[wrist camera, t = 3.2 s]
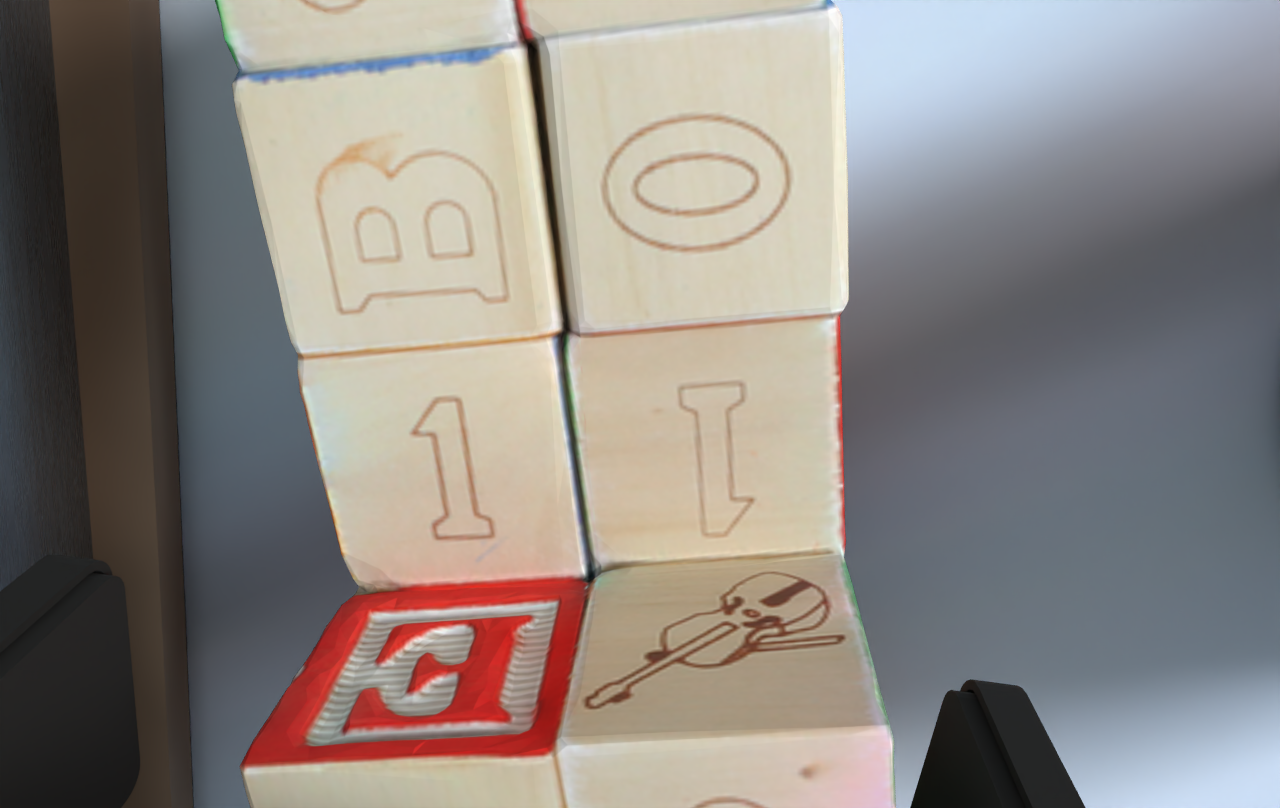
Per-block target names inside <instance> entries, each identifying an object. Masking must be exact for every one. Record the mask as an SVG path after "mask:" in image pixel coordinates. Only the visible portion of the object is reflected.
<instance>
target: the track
mask: <svg viewBox="0 0 1280 808" xmlns="http://www.w3.org/2000/svg"><path fill="white" fill-rule="evenodd" d="M53 554H57V555H64V556H71V557H79V558H86V559H93V560H101V561H103V562H105V563H107V564H108V565H109V567H110V568H111V571H112V575H113V576H118V577H120V578H121V579H122V581H123V582H124V586H125V593H126V605H127V616H128V627H129V639H130V650H131V661H132V672H133V684H134V695H135V706H136V718H137V729H138V740H139V751H140V770H139V775H138V779H137V782H136V785H135V787H134V789H133V791H132V793H131V795H130V796H129V798H128V799H127V801H126V802H125V803H124V805H123V806H122V807H121V808H193V788H192V764H191V741H190V718H189V694H188V671H187V647H186V624H185V600H184V577H183V553H182V530H181V506H180V483H179V460H178V436H177V413H176V389H175V366H174V342H173V319H172V295H171V272H170V248H169V225H168V202H167V178H166V155H165V131H164V108H163V84H162V61H161V37H160V14H159V0H0V591H1V590H2V589H4V588H5V587H6V586H7V585H9V584H10V583H11V582H12V581H14V580H15V579H16V578H17V577H19V576H20V575H21V574H22V573H24V572H25V571H26V570H27V569H29V568H30V567H31V566H32V565H34V564H35V563H36V562H37V561H39V560H40V559H42V558H43V557H45V556H47V555H53Z"/></svg>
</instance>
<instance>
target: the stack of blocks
mask: <svg viewBox="0 0 1280 808" xmlns="http://www.w3.org/2000/svg"><path fill="white" fill-rule="evenodd" d="M215 2H216V5H217V9H218V12H219V15H220V18H221V23H222V28H223V33H224V38H225V41H226V43H227V45H228V47H229V50H230V52H231V54H232V56H233V58H234V60H235V63H236V65H237V67H238V69H239V72H238V74H237V76H236V78H235V80H234V82H233V84H232V89H233V96H234V102H235V109H236V114H237V118H238V122H239V126H240V129H241V133H242V137H243V141H244V145H245V149H246V153H247V158H248V162H249V167H250V171H251V176H252V180H253V185H254V189H255V194H256V198H257V203H258V207H259V211H260V215H261V219H262V223H263V227H264V231H265V235H266V239H267V243H268V247H269V251H270V255H271V259H272V264H273V268H274V272H275V276H276V280H277V284H278V288H279V292H280V297H281V302H282V307H283V312H284V317H285V322H286V325H287V329H288V333H289V337H290V340H291V343H292V345H293V347H294V349H295V350H296V352H297V354H298V379H299V386H300V394H301V397H302V400H303V403H304V407H305V411H306V416H307V421H308V425H309V429H310V433H311V438H312V442H313V446H314V450H315V454H316V458H317V462H318V466H319V470H320V473H321V477H322V480H323V484H324V488H325V491H326V495H327V499H328V503H329V507H330V511H331V515H332V519H333V523H334V527H335V531H336V535H337V539H338V543H339V547H340V551H341V555H342V557H343V559H344V561H345V563H346V565H347V567H348V569H349V571H350V573H351V575H352V577H353V579H354V581H355V582H356V583H357V584H358V586H359V588H358V590H357V592H356V594H355V595H354V596H353V597H352V598H350V599H349V600H348V601H346V602H345V603H344V604H343V605H341V607H340V608H339V610H338V611H337V613H336V614H335V616H334V617H333V619H332V620H331V621H330V622H329V624H328V625H327V626H326V628H325V630H324V632H323V634H322V636H321V638H320V640H319V641H318V643H317V645H316V646H315V648H314V649H313V651H312V653H311V654H310V656H309V657H308V659H307V660H306V662H305V663H304V665H303V666H302V667H301V669H300V670H299V671H298V673H297V674H296V675H295V676H294V678H293V681H292V683H291V685H290V686H289V687H288V688H287V690H286V691H285V693H284V694H283V696H282V697H281V699H280V700H279V702H278V704H277V705H276V707H275V708H274V710H273V712H272V713H271V715H270V716H269V718H268V719H267V721H266V722H265V724H264V725H263V727H262V728H261V730H260V731H259V733H258V734H257V736H256V737H255V739H254V740H253V742H252V744H251V746H250V748H249V749H248V751H247V753H246V755H245V757H244V759H243V761H242V763H241V764H240V766H239V767H240V770H241V774H242V778H243V782H244V786H245V790H246V794H247V797H248V801H249V804H250V807H251V808H896V798H895V777H894V737H893V734H892V730H891V727H890V723H889V720H888V716H887V713H886V709H885V706H884V702H883V699H882V695H881V692H880V688H879V685H878V681H877V677H876V673H875V669H874V665H873V661H872V657H871V653H870V650H869V646H868V642H867V639H866V635H865V631H864V627H863V624H862V620H861V616H860V612H859V608H858V604H857V600H856V596H855V592H854V589H853V585H852V581H851V578H850V575H849V572H848V569H847V566H846V562H845V559H844V553H845V545H846V536H845V507H844V464H843V427H842V374H841V339H840V315H841V313H842V312H843V310H844V308H845V306H846V305H847V303H848V301H849V277H848V173H847V143H846V113H845V83H844V52H843V22H842V15H841V13H840V11H839V9H838V7H837V6H836V5H835V4H834V3H833V2H832V1H831V0H215Z"/></svg>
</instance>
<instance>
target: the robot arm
mask: <svg viewBox="0 0 1280 808" xmlns="http://www.w3.org/2000/svg"><path fill="white" fill-rule="evenodd" d="M139 770H140V751H139V740H138V729H137V718H136V706H135V695H134V684H133V672H132V661H131V650H130V639H129V627H128V616H127V605H126V593H125V586H124V582H123V581H122V579H121V578H120V577H118V576H113V575H112V571H111V568H110V567H109V565H108V564H107V563H105V562H103V561H101V560H93V559H86V558H79V557H71V556H64V555H57V554H53V555H47V556H45V557H43V558H42V559H40V560H39V561H37V562H36V563H35V564H34V565H32V566H31V567H30V568H29V569H27V570H26V571H25V572H24V573H22V574H21V575H20V576H19V577H17V578H16V579H15V580H14V581H12V582H11V583H10V584H9V585H7V586H6V587H5V588H4V589H2V590H1V591H0V808H121V807H122V806H123V805H124V803H125V802H126V801H127V799H128V798H129V796H130V795H131V793H132V791H133V789H134V787H135V785H136V782H137V779H138V775H139ZM910 808H1085V806H1084V804H1083V802H1082V800H1081V798H1080V796H1079V794H1078V792H1077V791H1076V789H1075V787H1074V785H1073V783H1072V781H1071V779H1070V777H1069V775H1068V773H1067V771H1066V769H1065V767H1064V765H1063V763H1062V761H1061V760H1060V758H1059V756H1058V754H1057V752H1056V750H1055V748H1054V746H1053V744H1052V742H1051V740H1050V738H1049V736H1048V734H1047V732H1046V730H1045V729H1044V727H1043V725H1042V723H1041V721H1040V719H1039V717H1038V715H1037V713H1036V711H1035V709H1034V707H1033V705H1032V703H1031V701H1030V699H1029V698H1028V696H1027V694H1026V693H1025V691H1024V690H1023V688H1021V687H1019V686H1015V685H1008V684H1000V683H993V682H986V681H978V680H968V681H966V682H965V683H964V684H963V686H962V688H961V690H960V691H954V690H950V691H948V692H947V694H946V695H945V697H944V700H943V703H942V706H941V709H940V712H939V716H938V719H937V722H936V726H935V729H934V732H933V735H932V739H931V742H930V745H929V748H928V752H927V755H926V758H925V762H924V765H923V768H922V771H921V775H920V778H919V781H918V785H917V788H916V791H915V794H914V798H913V801H912V804H911V807H910Z"/></svg>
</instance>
